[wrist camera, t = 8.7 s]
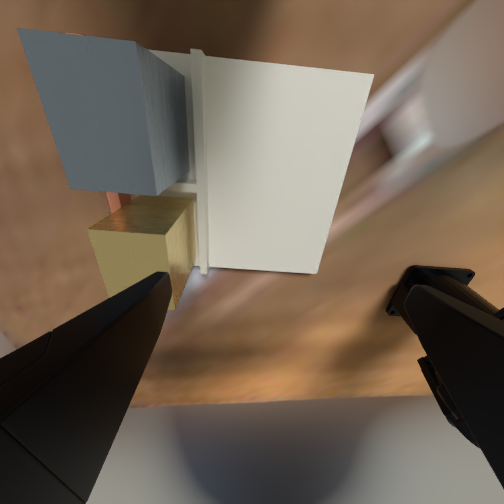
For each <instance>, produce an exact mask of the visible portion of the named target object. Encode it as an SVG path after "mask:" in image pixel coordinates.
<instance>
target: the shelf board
mask: <svg viewBox="0 0 504 504" xmlns="http://www.w3.org/2000/svg"><path fill="white" fill-rule="evenodd" d="M66 34H74V33H66ZM75 35H82V34H75ZM147 50H148V49H147ZM149 51H150V52H151V53H153V54H154V55H156V56H157V57H158V58H160V59H161V60H163V61H164V62H165V63H167V64H168V65H170V66H171V67H172V68H174V69H175V70H177V71H178V72H179V73H181V74H182V75H184V78H185V95H186V113H187V130H188V148H189V165H190V171H189V172H188V173H186V174H185V175H184V176H182V177H181V178H180V179H178V180H177V181H176V182H175V183H173V184H172V185H171V186H169V187H168V188H167V189H165V190H164V191H163V192H162V193H160V194H159V195H158V196H168V197H180V198H192V199H193V201H194V221H195V241H196V260H195V263H194V265H193V266H200V274H207V273H208V269H209V267H221V268H236V269H250V270H265V271H280V272H295V273H310V274H317V271H318V268H319V264H320V261H321V257H322V254H323V250H324V247H325V243H326V240H327V236H328V233H329V229H330V226H331V223H332V219H333V216H334V212H335V209H336V205H337V202H338V198H339V195H340V191H341V188H342V184H343V181H344V177H345V174H346V171H347V167H348V164H349V160H350V157H351V153H352V150H353V146H354V143H355V139H356V136H357V132H358V129H359V126H360V122H361V119H362V115H363V112H364V108H365V105H366V101H367V98H368V94H369V91H370V87H371V84H372V80H373V77H374V74H365V73H356V72H347V71H338V70H329V69H320V68H311V67H302V66H293V65H284V64H275V63H266V62H257V61H248V60H238V59H229V58H220V57H211V56H205V54H204V53H203V51H202V50H198V49H190V54H184V53H175V52H166V51H157V50H149ZM106 194H107V198H108V202H109V206H110V209H111V213H113V212H115V211H116V210H118V209H119V208H121V207H122V206H124V205H125V204H127V203H129V202H130V201H132V200H133V199H135V198H136V197H138V196H139V194H126V193H114V192H106Z"/></svg>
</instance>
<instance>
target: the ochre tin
mask: <svg viewBox="0 0 504 504" xmlns="http://www.w3.org/2000/svg"><path fill="white" fill-rule="evenodd" d="M87 231H88V234H89V237H90V240H91V243H92V246H93V249H94V252H95V256H96V259H97V262H98V265H99V268H100V271H101V274H102V277H103V280H104V283H105V286H106V290H107V293H108V296H109V298H110V297H112V296H114V295H116V294H117V293H119V292H121V291H123V290H125V289H126V288H128V287H130V286H132V285H133V284H135V283H137V282H139V281H141V280H142V279H144V278H146V277H148V276H149V275H151V274H153V273H155V272H157V271H162V272H168V273H169V274H170V279H171V285H172V297H171V300H170V303H169V307H168V310H173V311H175V309H176V307H177V304H178V302H179V299H180V297H181V294H182V292H183V289H184V287H185V285H186V282H187V280H188V277H189V275H190V272H191V270H192V267H193V265H194V263H195V260H196V241H195V221H194V201H193V199H192V198H180V197H168V196H151V195H139V196H138V197H136V198H135V199H133V200H132V201H130V202H129V203H127V204H125V205H124V206H122V207H121V208H119V209H118V210H116V211H115V212H113V213H111V214H110V215H108V216H107V217H105V218H104V219H102V220H101V221H99V222H97V223H96V224H94V225H93V226H91V227H90V228H88V229H87Z"/></svg>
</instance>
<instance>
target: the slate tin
mask: <svg viewBox="0 0 504 504" xmlns="http://www.w3.org/2000/svg"><path fill="white" fill-rule="evenodd" d="M17 30H18V33H19V36H20V39H21V42H22V45H23V48H24V51H25V54H26V57H27V60H28V63H29V66H30V69H31V72H32V75H33V78H34V81H35V84H36V87H37V90H38V93H39V96H40V99H41V102H42V105H43V108H44V111H45V114H46V117H47V120H48V123H49V126H50V129H51V132H52V135H53V138H54V141H55V144H56V147H57V150H58V153H59V156H60V159H61V162H62V165H63V168H64V171H65V174H66V177H67V180H68V183H69V186H70V189H77V190H89V191H101V192H114V193H126V194H139V195H151V196H158V195H159V194H160V193H162V192H163V191H164V190H165V189H167V188H168V187H169V186H171V185H172V184H173V183H175V182H176V181H177V180H178V179H180V178H181V177H182V176H184V175H185V174H186V173H188V172H189V171H190V165H189V148H188V130H187V113H186V95H185V78H184V75H182V74H181V73H179V72H178V71H177V70H175V69H174V68H172V67H171V66H170V65H168V64H167V63H165V62H164V61H163V60H161V59H160V58H158V57H157V56H156V55H154V54H153V53H151V52H150V51H149V50H147V49H146V48H144V47H143V46H142V45H140V44H139V43H137V42H136V41H129V40H120V39H111V38H102V37H93V36H84V35H75V34H66V33H57V32H48V31H39V30H31V29H22V28H17Z"/></svg>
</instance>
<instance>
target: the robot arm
mask: <svg viewBox="0 0 504 504" xmlns="http://www.w3.org/2000/svg"><path fill="white" fill-rule="evenodd" d="M414 270H415V271H414ZM474 275H475V272H474V271H472V270H471V269H461V268H447V267H433V266H418V265H413V266H411V267H410V268H409V269H408V271H407V272H406V274H405V276H404V278H403V280H402V282H401V283H400V285H399V287H398V289H397V291H396V293H395V294H394V296H393V298H392V300H391V302H390V304H389V306H388V307H387V309H386V312H387V313H388V315H390V316H401V317H402V318H403V319H404V320H405V322H406V323H407V324H408V326H409V327H410V328H411V329H412V331H413V332H414V333H415V334H417V336H418V338H419V340H420V343H421V345H422V347H423V348H424V350H425V352H426V354H427V356H425V357H421V358H420V359H418V360H417V361H418V363H419V365H420V367H421V371H422V373H423V375H424V377H425V379H426V380H427V382H428V384H429V386H430V388H431V390H432V392H433V394H434V396H435V398H436V400H437V402H438V404H439V406H440V408H441V410H442V412H443V414H444V415H445V416H446V418H447V420H448V422H449V423H450V424H451V425H452V426H454V427H456V428H457V429H458V430H459V431H460V432H461V433H462V434H463V435H464V436H465V437H466V438H467V439H468V440H469V441H470V442H471V443H473V444H474V445H475V446H477V447H478V448H480V449H481V450H482V452H483V454H484V455H485V457H486V459H487V461H488V462H489V464H490V466H491V468H492V469H493V471H494V473H495V475H496V476H497V478H498V480H499V482H500V483H501V485H502V487H503V489H504V308H502V309H501V310H499V309H497V308H496V307H495V306H493V305H492V304H491V303H489V302H488V301H487V300H485V299H484V298H483V297H481V296H480V295H479V294H477V293H476V292H475V291H473V290H472V289H471V288H469V287H468V286H467V285H468V284H469V282H470V281H471V280H472V278H473V277H474ZM171 297H172V285H171V279H170V274H169V273H168V272H162V271H157V272H155V273H153V274H151V275H149V276H148V277H146V278H144V279H142V280H141V281H139V282H137V283H135V284H133V285H132V286H130V287H128V288H126V289H125V290H123V291H121V292H119V293H117V294H116V295H114V296H112V297H110V298H108V299H107V300H105V301H103V302H101V303H100V304H98V305H96V306H94V307H92V308H91V309H89V310H87V311H85V312H83V313H82V314H80V315H78V316H76V317H75V318H73V319H71V320H69V321H67V322H66V323H64V324H62V325H60V326H58V327H57V328H55V329H53V331H52V332H51V331H50V332H48V333H46V334H44V335H42V336H41V337H39V338H37V339H35V340H33V341H32V342H30V343H28V344H26V345H24V346H22V347H21V348H19V349H17V350H15V351H14V352H11V353H10V354H8V355H6V356H4V357H2V358H0V504H86V502H87V501H88V498H89V496H90V494H91V492H92V489H93V487H94V485H95V482H96V480H97V478H98V475H99V473H100V471H101V469H102V466H103V464H104V462H105V459H106V457H107V455H108V452H109V450H110V448H111V446H112V443H113V441H114V439H115V436H116V434H117V432H118V430H119V427H120V425H121V422H122V420H123V418H124V416H125V413H126V411H127V409H128V407H129V404H130V402H131V400H132V397H133V395H134V393H135V390H136V388H137V386H138V384H139V381H140V379H141V377H142V374H143V372H144V370H145V368H146V365H147V363H148V361H149V358H150V356H151V354H152V351H153V349H154V347H155V345H156V342H157V340H158V337H159V335H160V332H161V329H162V326H163V323H164V320H165V316H166V313H167V310H168V307H169V303H170V300H171Z"/></svg>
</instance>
